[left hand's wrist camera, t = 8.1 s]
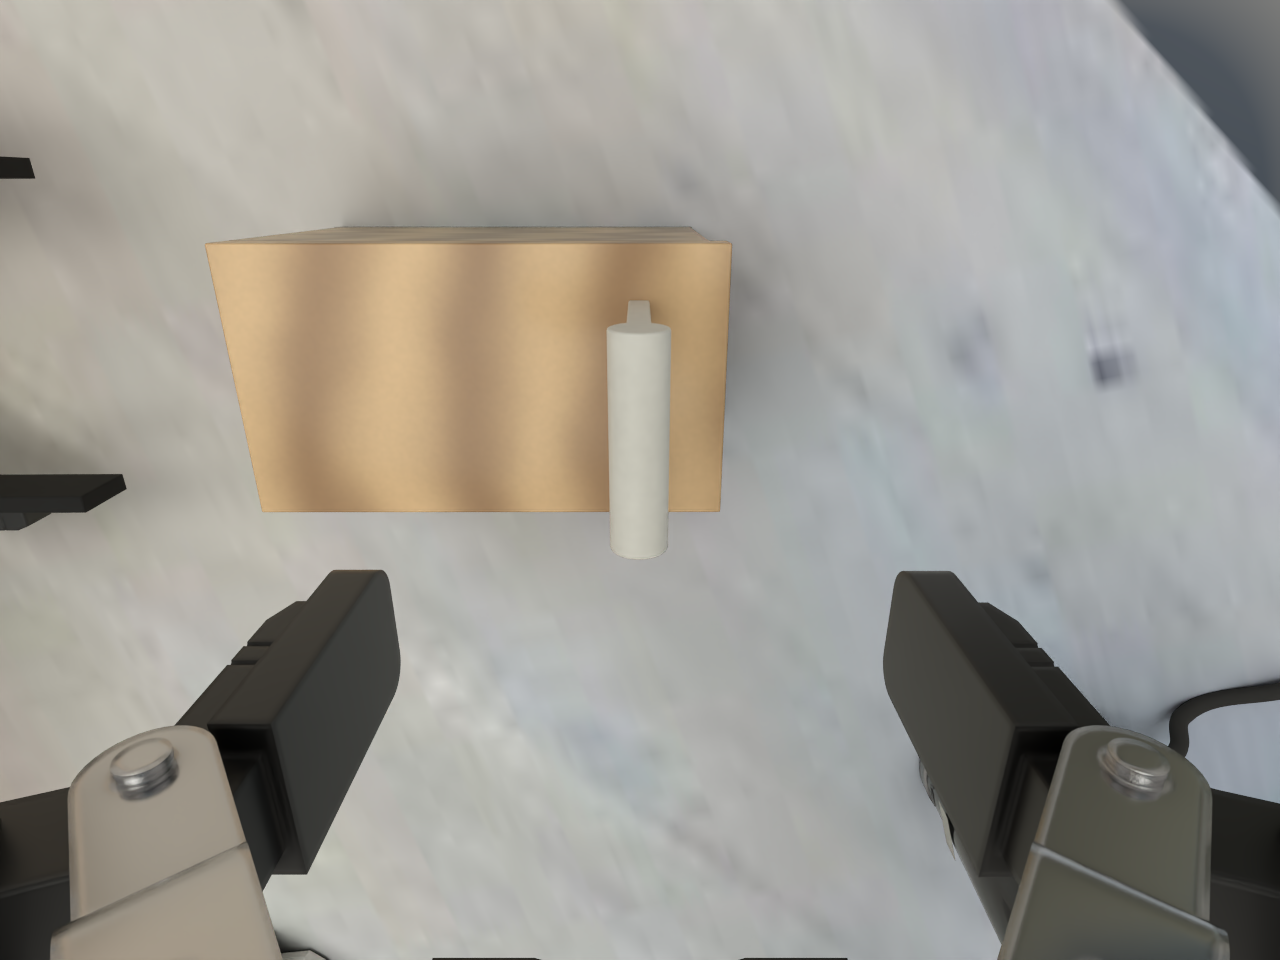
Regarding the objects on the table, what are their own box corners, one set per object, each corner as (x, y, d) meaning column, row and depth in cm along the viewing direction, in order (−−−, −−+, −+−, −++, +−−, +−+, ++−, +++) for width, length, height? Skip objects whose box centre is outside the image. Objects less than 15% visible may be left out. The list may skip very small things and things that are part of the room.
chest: (690, 226, 34) (710, 240, 25) (685, 421, 38) (701, 498, 28) (340, 226, 34) (225, 240, 25) (369, 421, 38) (278, 498, 28)
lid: (727, 240, 25) (767, 262, 17) (716, 498, 28) (745, 612, 21) (225, 240, 25) (39, 263, 17) (277, 499, 28) (144, 612, 21)
